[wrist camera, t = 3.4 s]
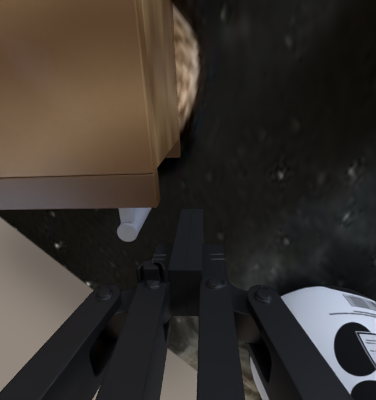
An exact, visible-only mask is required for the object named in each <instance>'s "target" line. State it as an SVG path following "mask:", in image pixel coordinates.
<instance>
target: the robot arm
mask: <svg viewBox="0 0 376 400" xmlns="http://www.w3.org/2000/svg"><path fill="white" fill-rule="evenodd" d="M136 272H137V278H138V286H136V287H134V288H131V289H127V290H122V291H120V289H119V287H118V286H116V285H113V284H107V285H103V286H101V287H98V288H97V289H95V290H94V291H93V292H92V293H91V294H90V295H89V296H88V297H87V298H86V299H85V301H84V302H83V303H82V304H81V305H80V306H79V307H78V308H77V309H76V310H75V311H74V312H73V313H72V315H71V316H70V317H69V318H68V319H67V320H66V321H65V322H64V323H63V324H62V325H61V327H60V328H59V329H58V330H57V331H56V332H55V333H54V334H53V335H52V336H51V337H50V339H49V340H48V341H47V342H46V343H45V344H44V345H43V346H42V347H41V348H40V349H39V351H38V352H37V353H36V354H35V355H34V356H33V357H32V358H31V359H30V360H29V361H28V362H27V364H26V365H25V366H24V367H23V368H22V369H21V370H20V371H19V372H18V373H17V374H16V375H15V376H14V378H13V379H12V380H11V381H10V382H9V383H8V384H7V385H6V386H5V387H4V388H3V390H2V391H1V392H0V400H92V399H93V397H94V395H95V394H96V392H97V390H98V389H99V391H98V394H97V397H96V400H160V393H161V387H162V381H163V374H164V367H165V361H166V354H167V348H168V341H169V334H170V328H171V321H170V315H171V310H172V316H199V340H198V373H197V400H245V394H244V387H243V379H242V372H241V364H240V357H239V349H238V342H237V339H240V340H243V341H245V344H246V347H247V349H248V351H249V354H250V356H251V358H252V361H253V363H254V365H255V368H256V370H257V373H258V375H259V377H260V380H261V382H262V384H263V387H264V389H265V391H266V394H267V396H268V398H269V400H354V399H353V398H352V396H351V395H350V394H349V392H348V391H347V389H346V388H345V387H344V385H343V384H342V382H341V381H340V380H339V378H338V377H337V375H336V374H335V373H334V371H333V370H332V368H331V367H330V366H329V364H328V363H327V361H326V360H325V359H324V357H323V356H322V354H321V353H320V352H319V350H318V349H317V347H316V346H315V345H314V343H313V342H312V340H311V339H310V338H309V336H308V335H307V333H306V332H305V331H304V329H303V328H302V326H301V325H300V324H299V322H298V321H297V319H296V318H295V317H294V315H293V314H292V312H291V311H290V310H289V308H288V307H287V305H286V304H285V303H284V301H283V300H282V298H281V297H280V296H279V294H278V293H277V292H276V291H275V290H273V289H272V288H270V287H267V286H263V285H256V286H253V287H251V288H250V289H249V290H248V291H245V290H241V289H238V288H236V287H234V286H233V285H232V284H231V283H230V282H229V281H228V278H227V270H226V263H225V255H224V248H223V247H222V246H221V245H220V243H204V240H203V209H181V213H180V218H179V222H178V226H177V231H176V235H175V240H174V244H160V245H159V246H158V247H157V248H155V250H154V253H153V256H152V259H151V260H148V261H145V262H143V263H141V264H140V265H138V267H137V268H136ZM100 385H101V386H100ZM99 387H100V388H99Z"/></svg>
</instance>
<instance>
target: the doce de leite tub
mask: <svg viewBox="0 0 376 400" xmlns="http://www.w3.org/2000/svg"><path fill="white" fill-rule="evenodd" d="M280 297H281V298H282V300H283V301H284V303H285V304H286V305H287V307H288V308H289V310H290V311H291V312H292V314H293V315H294V317H295V318H296V319H297V321H298V322H299V324H300V325H301V326H302V328H303V329H304V331H305V332H306V333H307V335H308V336H309V338H310V339H311V340H312V342H313V343H314V345H315V346H316V347H317V349H318V350H319V352H320V353H321V354H322V356H323V357H324V359H325V360H326V361H327V363H328V364H329V366H330V367H331V368H332V370H333V371H334V373H335V374H336V375H337V377H338V378H339V380H340V381H341V382H342V384H343V385H344V387H345V388H346V389H347V391H348V392H349V394H350V395H351V396H352V398H353V399H354V400H376V302H375V301H373V300H372V299H370V298H369V297H367V296H365V295H363V294H361V293H359V292H356V291H354V290H351V289H348V288H343V287H338V286H331V285H321V286H309V287H303V288H299V289H296V290H293V291H290V292H287V293H285V294H283V295H281V296H280ZM249 358H250V365H251V371H252V374H253V378H254V381H255V384H256V386H257V389H258V391H259V393H260V395H261V398H262V400H269V398H268V396H267V394H266V391H265V389H264V387H263V384H262V382H261V380H260V377H259V375H258V373H257V370H256V368H255V365H254V363H253V361H252V358H251V356H250V354H249Z"/></svg>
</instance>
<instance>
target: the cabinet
mask: <svg viewBox="0 0 376 400" xmlns="http://www.w3.org/2000/svg"><path fill="white" fill-rule="evenodd" d="M180 156H181V149H180V132H179V115H178V97H177V80H176V62H175V45H174V28H173V10H172V0H0V210H31V209H95V208H156V207H157V206H158V204H159V202H160V191H159V181H158V171H157V168H158V166H159V165H160V164H161V162H162V161H163V160H164V158H177V157H180Z"/></svg>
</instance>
